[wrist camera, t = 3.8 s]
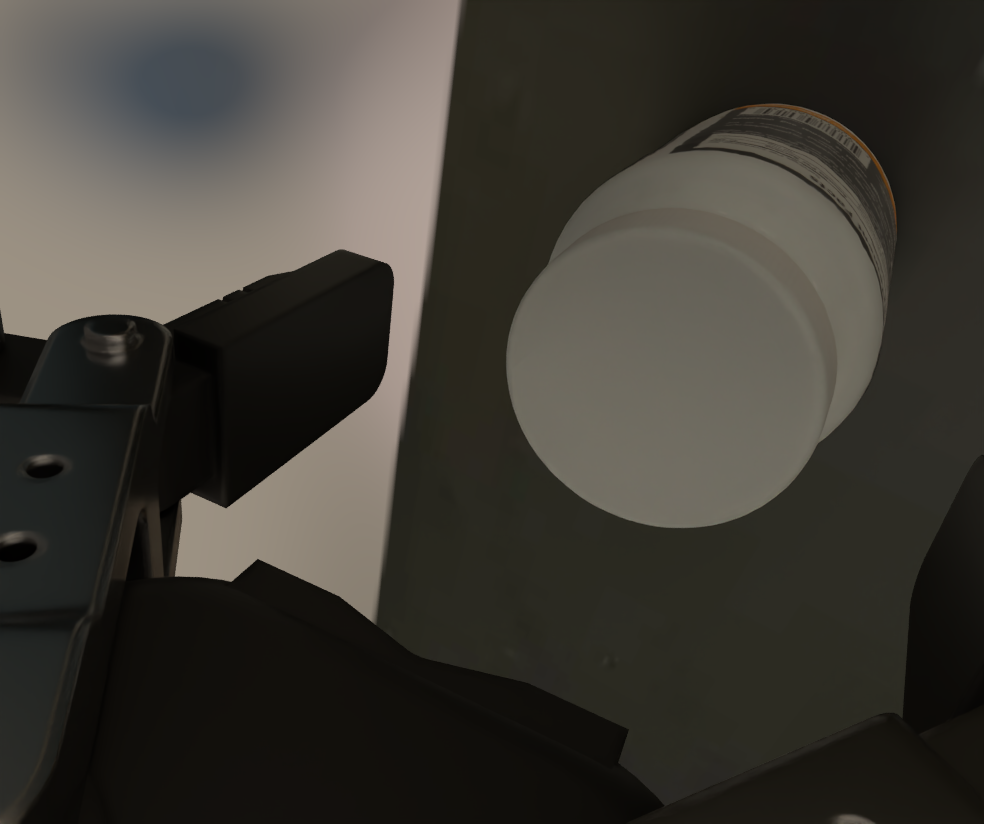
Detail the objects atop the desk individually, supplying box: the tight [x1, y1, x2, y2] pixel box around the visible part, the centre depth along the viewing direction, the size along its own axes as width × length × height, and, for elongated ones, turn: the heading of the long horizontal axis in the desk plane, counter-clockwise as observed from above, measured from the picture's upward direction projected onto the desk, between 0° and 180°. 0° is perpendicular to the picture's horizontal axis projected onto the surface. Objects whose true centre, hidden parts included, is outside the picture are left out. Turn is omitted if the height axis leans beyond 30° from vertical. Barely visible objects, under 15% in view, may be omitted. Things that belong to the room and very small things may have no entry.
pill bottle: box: [506, 104, 897, 528], centre depth 17 cm, size 6×6×10 cm
